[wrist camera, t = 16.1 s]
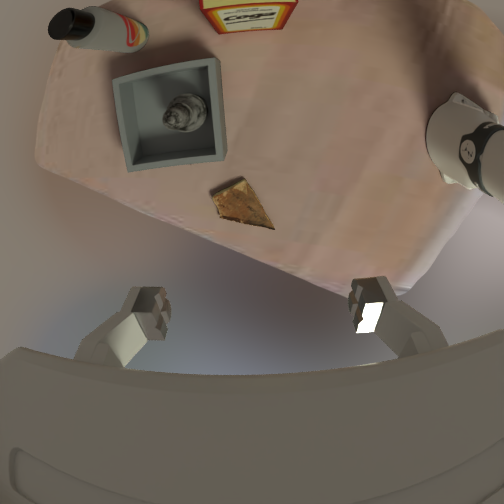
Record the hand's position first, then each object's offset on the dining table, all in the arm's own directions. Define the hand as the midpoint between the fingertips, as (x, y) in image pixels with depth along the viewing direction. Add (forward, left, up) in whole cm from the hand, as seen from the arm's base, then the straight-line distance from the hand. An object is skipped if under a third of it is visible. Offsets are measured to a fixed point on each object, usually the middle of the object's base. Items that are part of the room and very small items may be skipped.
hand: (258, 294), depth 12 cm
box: (+12, -5, -35) cm, 37 cm away
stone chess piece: (+9, -5, -34) cm, 36 cm away
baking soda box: (0, -21, -35) cm, 41 cm away
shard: (+2, +12, -36) cm, 38 cm away
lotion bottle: (+18, -20, -35) cm, 44 cm away
